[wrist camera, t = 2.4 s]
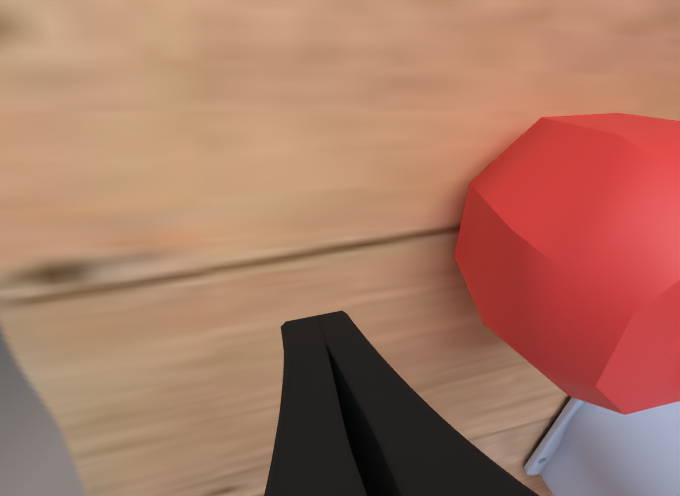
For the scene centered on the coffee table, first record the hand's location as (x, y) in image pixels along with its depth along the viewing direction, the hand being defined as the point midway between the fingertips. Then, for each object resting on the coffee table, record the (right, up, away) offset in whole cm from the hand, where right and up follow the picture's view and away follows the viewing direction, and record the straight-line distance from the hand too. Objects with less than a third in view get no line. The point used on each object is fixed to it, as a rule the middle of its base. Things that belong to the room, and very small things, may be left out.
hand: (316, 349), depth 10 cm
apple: (+7, +4, +6) cm, 10 cm away
